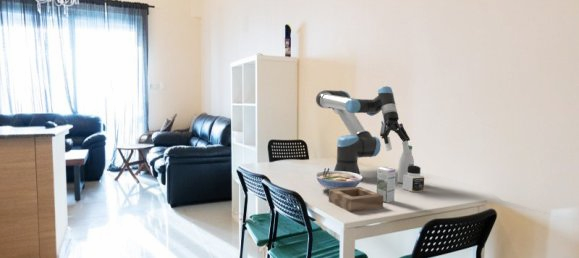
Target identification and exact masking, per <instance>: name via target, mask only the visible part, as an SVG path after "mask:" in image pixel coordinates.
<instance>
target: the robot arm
mask: <svg viewBox="0 0 579 258" xmlns="http://www.w3.org/2000/svg"><path fill="white" fill-rule="evenodd" d="M377 90H378V91H377V96H375V97H374V98H373V99H368V98H367V99H365V98H364V99H362V98H353V97H352V98H351V95H350V94H349V92H347V91H345V90H331V89H329V90H327V89H325V90H320V92H318V93H317V94H316V97H315V102H316V105H317V106H318V107H319V108H322V109H332V110H333V112H334V113H335V114H338V116H339V118H340V119H341V121H342V122H343V124H344V126H345V127H346V129H347V131H348V132H349V134H346V135H342V136H339V137H338V138H337V143H336V148H337V149H336V164H335V166H334V170H333V171H344V172H352V173H356V174H359V175H361V172H360V169H359V163H358V159H359V158H373V157H376V156H378V155H379V153H380V151H381V146H382V145H381V141H380V139H379V137H377V136H373V135H372V134H371V133H370V131H368V130H366V129H365V128H364V126H363V125H362V124H361V121H360V119H358V117H357V116H356V114H366V115H368V116H370V117H373V116H375V115H378V113H380V112H381V113H382V118H383V120H381V128H380V132H379V136H380V137H381V139H382V140H383V141H384V144H385V148H386V151H387V152H389V151H391V150H392V149H393V148H392V144H391V139H390V136H389V134H390V132H391V131H393V132H394V133H396V134H397V136H398V137H399V138H400V140H401V141H402V149H404V153H405V154H408V153H410V151H409V146H410V145H409V141H410V140H411V139H410V138H411V137H409V135H408V133H407V131H406V129H405V127H404V125H403V123H402V122H401V123H399V119H400V118H399V113H398V110H397V106H396V105H397V104H396V101H395V96H394V92H393V89H392V87H390V86H388V85H387V86H381V87H380V88H378V89H377ZM408 145H409V146H408Z"/></svg>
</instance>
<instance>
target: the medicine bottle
mask: <svg viewBox="0 0 579 258" xmlns="http://www.w3.org/2000/svg"><path fill="white" fill-rule="evenodd" d="M421 169H422V167H420V166H418V165H415V164H414V165H411V166H408V172H407V175H403V183H402V189H403V190H405V191H407V192H411V193H417V192H424V190H425V189H424V188H425V187H424V186H425V177H424V176H423V175H421Z"/></svg>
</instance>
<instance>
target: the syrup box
mask: <svg viewBox="0 0 579 258" xmlns="http://www.w3.org/2000/svg"><path fill="white" fill-rule="evenodd" d="M396 171H397V170H396V168H393V167H390V166H389V167H388V166H380V167H377V173H376V177H377V179H376V193H378V194H380V195H383V203H386V204H389V203H392V202H395V193H396V192H395V189H396V187H395V186H396Z"/></svg>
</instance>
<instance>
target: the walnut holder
mask: <svg viewBox="0 0 579 258" xmlns="http://www.w3.org/2000/svg"><path fill="white" fill-rule="evenodd" d="M328 203H331V204H333V205H335V206H337V207H338V208H342V210H345V211H347V212H349V213H355V212H361V211H362V212H363V211H370V210H376V209H383V208H384V202H383V195H380V194H378V193H377V192H374V191H372V190H370V189H367V188H364V187H361V186H356V187H352V188H342V189H332V190H329V189H328Z"/></svg>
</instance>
